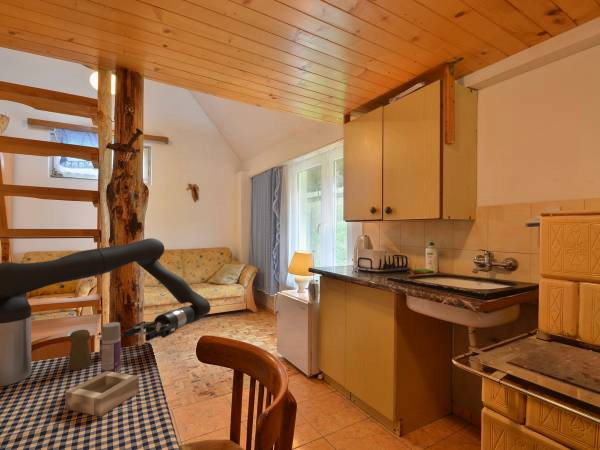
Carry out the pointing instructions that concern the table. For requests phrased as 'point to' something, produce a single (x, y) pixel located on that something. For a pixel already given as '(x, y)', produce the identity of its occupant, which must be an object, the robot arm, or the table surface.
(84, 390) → the square holder
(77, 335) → the olive pepper mill
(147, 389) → the table surface
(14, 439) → the table surface
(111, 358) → the container
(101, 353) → the pill bottle
